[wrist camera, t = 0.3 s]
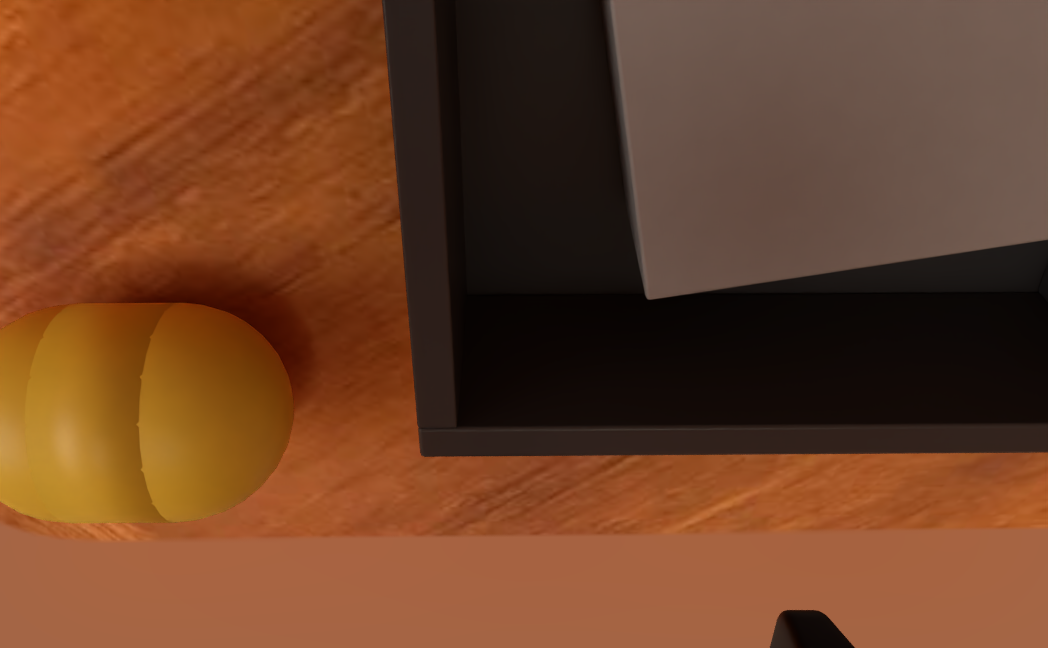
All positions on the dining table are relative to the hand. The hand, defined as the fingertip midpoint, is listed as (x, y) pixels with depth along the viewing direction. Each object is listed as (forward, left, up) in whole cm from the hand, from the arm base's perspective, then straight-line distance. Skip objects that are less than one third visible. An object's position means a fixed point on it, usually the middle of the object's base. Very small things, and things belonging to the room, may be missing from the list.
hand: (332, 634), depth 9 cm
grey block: (+2, -8, -13) cm, 16 cm away
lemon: (-7, +7, -14) cm, 17 cm away
